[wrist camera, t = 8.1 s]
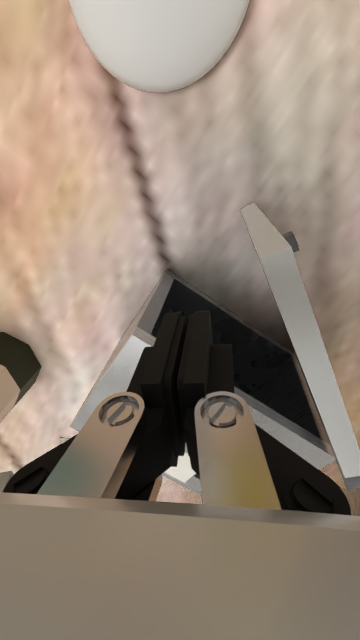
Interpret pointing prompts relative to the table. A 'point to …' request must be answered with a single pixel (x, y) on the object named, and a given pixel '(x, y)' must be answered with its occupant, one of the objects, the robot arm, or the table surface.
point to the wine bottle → (15, 372)
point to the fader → (182, 468)
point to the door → (305, 337)
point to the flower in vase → (158, 38)
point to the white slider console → (248, 369)
